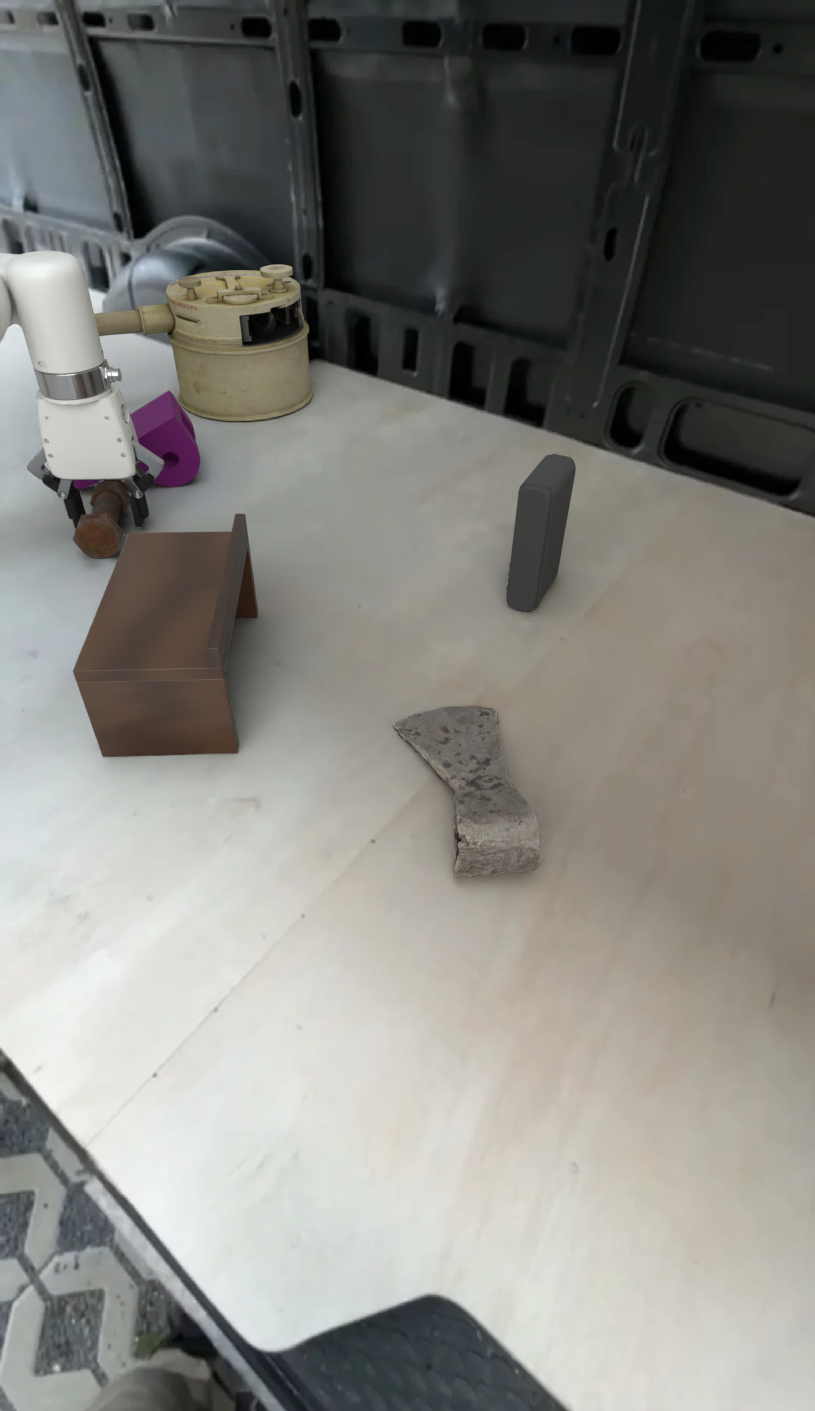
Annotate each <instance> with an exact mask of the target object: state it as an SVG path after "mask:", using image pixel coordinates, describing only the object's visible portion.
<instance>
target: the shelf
mask: <svg viewBox="0 0 815 1411" xmlns="http://www.w3.org/2000/svg"><path fill="white" fill-rule="evenodd" d="M232 522H233V523H232V527H231V531H174V532H173V531H172V532H171V531H168V532H167V531H166V532H163V531H162V532H161V531H159V532H128V534H127V535H126V537H125V541H124V543H123V545H122V548H121V550H120V553H119V556H118V558H117V560H116V563H115V564H114V568H113V570H112V573H111V575H110V576H109V579H108V582H107V585H106V587H105V590H104V593H103V595H102V597H101V600H100V603H99V605H98V607H97V610H96V613H95V615H94V617H93V620H92V622H91V625H90V627H89V630H88V632H87V635H86V637H85V640H84V642H83V645H82V647H81V649H80V652H79V654H78V656H77V660H76V661H75V664H74V667H73V670H72V673H73V676H74V679H75V682H76V684H77V687H78V690H79V693H80V696H81V699H82V701H83V704H84V707H85V711H86V713H87V716H88V719H89V722H90V725H91V727H92V730H93V733H94V736H95V740H96V742H97V744H98V747H99V748H98V749H99V751H100V754H101V757H102V758H105V757H106V758H113V757H114V758H115V757H147V756H149V757H150V756H184V755H185V756H186V755H187V756H189V755H190V756H191V755H219V754H223V755H224V754H225V755H227V754H238V753H239V747H240V742H239V736H238V731H237V724H236V719H235V713H234V707H233V702H232V697H231V696H232V695H231V690H230V685H229V679H228V674H227V666H228V660H229V654H230V648H231V645H232V644H231V643H232V637H233V632H234V627H235V621H236V619H240V618H241V619H242V618H244V619H245V618H246V619H247V618H249V619H250V618H258V617H259V616H258V614H259V606H258V600H257V592H256V585H255V577H254V570H253V562H252V554H251V548H250V539H249V533H248V532H249V531H248V524H247V516H246V513H235V514H234V517H233V521H232Z"/></svg>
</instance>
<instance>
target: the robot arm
mask: <svg viewBox="0 0 815 1411" xmlns="http://www.w3.org/2000/svg"><path fill="white" fill-rule="evenodd" d="M94 314H95V311H94V307H93V303H92V299H91V295H90V290H89V286H88V281H87V277H86V273H85V270H84V268H83V266H82V264H81V262H80V260H79V259H78V258H77V257H75V256H74V255H72V254H71V253H68V252H64V251H59V250H35V251H28V252H24V253H20V254H19V253H7V252H0V343H2V341H4V340H3V339H4V337H5V335H6V334H7V331H8V328H10V327H11V326H13V325H18V326H19V327H20V328H21V331H22V333H23V337H24V340H25V344H26V346H27V347H26V348H27V350H28V354H29V358H30V360H31V365H32V369H33V371H34V375H35V379H36V382H37V385H38V388H39V389H38V391H36V392H37V393H36V394H35V399H36V400H35V401H36V402H35V403H36V411H37V412H36V413H37V420H38V428H39V434H40V438H41V442H42V447H41V449H39V451H37V453H36V454H35V455H34V456H33V457H32V458H31V459H30V460H29V462H28V463H27V465H26V470H27V471H28V472H29V473H31V474H32V475H33V476H35V477H36V478H37V479H38V480H41V482H42V483H43V485H44V486H46V487H47V488H49V489H50V490H52V491H53V492H54V493H56V495H57V497H58V498H59V499H61V500H62V501H63V504H64V507H65V511H66V513H67V518H68V519H69V520H72V523H73V526H74V528H75V529H76V528H77V525H78V522H79V520H80V517H81V515H87V512H86V509H85V506H84V501H83V498H82V494H81V491H80V489H78V488H75V487H74V482H75V480H101V481H103V480H111V479H120V480H121V481H122V482H123V484H124V485H125V486H126V487H127V489H128V490H127V491H129V493H130V496H131V497H130V502H129V505H130V508H131V513H132V517H133V522H134V525H135V527H136V528H139V529H141V528H143V526H144V524H145V521H146V519H149V516H150V510H149V506H148V501H147V495H146V492H147V491H148V489H149V488H151V486H152V485H153V483H155V482H154V480H155V479H156V478H157V476H158V475H159V473H160V472H161V471H162V469H163V467H164V464H165V463H164V461H163V460H162V459H161V458H159V457H158V456H157V455H155V454H154V453H152V452H151V451H149V450H148V449H146V448H145V447H143V446H142V445H141V444H139V441H138V438H137V435H136V431H135V428H134V425H133V422H132V419H131V416H130V414H131V413H130V411H129V407H128V405H127V402H126V399H125V397H124V395H123V393H122V390H121V389H120V387H119V386H118V385H117V384H113V383H115V382H122V378H123V377H122V371H121V369H120V368H115V367H114V368H113V366H110V365H109V363H108V359H107V358H105V354H104V350H103V346H102V341H101V336H99V333H98V328H97V324H96V320H95V315H94ZM139 462H143V463H144V464H146V465H147V466H148V467H149V469H148V470H147V471H146V472H145V473H144V472H143V475H141V473H140V472H139V471H138V470H137V469H136V465H138V463H139ZM46 463H47V466H48V467H47V466H46V465H45V464H46Z"/></svg>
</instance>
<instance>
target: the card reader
mask: <svg viewBox="0 0 815 1411" xmlns="http://www.w3.org/2000/svg"><path fill="white" fill-rule="evenodd" d="M576 471H577V467H576V463H575V460H574V459H573V458H572V457H570V456H566V455H563V454H559V453H551V454H547V455H545V456H544V457H543V458H542V459H541V461H540V462H539V463H538V464H537V465H536V466H535V468H534V469H533V470H532V471H531V473H530V474H529V475H528V476H527V477H526V478H525V480H523V482H522V484H520V486H519V488H518V495H517V500H516V502H517V503H516V509H515V517H514V518H515V520H514V525H513V526H514V527H513V537H512V544H511V553H510V560H509V563H508V571H507V575H508V577H507V579H506V582H507V585H506V588H505V589H506V596H505V597H506V599H505V600H506V603H507V605H508V606H509V607H510V608H513V609H517V610H518V611H519V610H520V611H523V612H530V611H532V610H536V609H537V607H538V606H539V604H541V602H542V600H543V598H544V597H545V595H546V594H547V592H548V591H549V589H550V588H551V586H552V585H553V583H554V581H555V580H556V578H557V576H558V574H559V570H560V569H559V568H560V565H561V564H560V562H561V559H562V558H561V556H562V551H563V546H564V541H565V540H564V539H565V534H566V528H567V522H568V517H569V513H570V512H569V511H570V506H571V500H572V494H573V489H574V482H575V477H576Z"/></svg>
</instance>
